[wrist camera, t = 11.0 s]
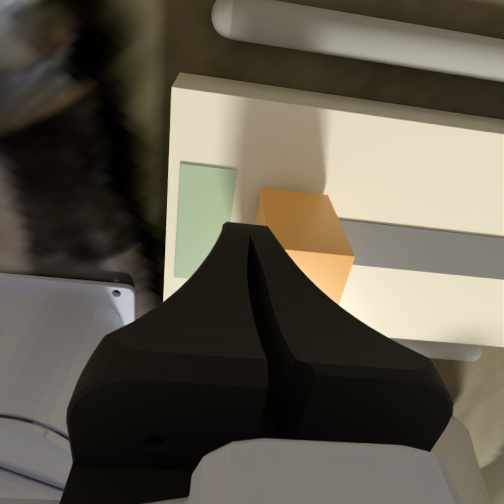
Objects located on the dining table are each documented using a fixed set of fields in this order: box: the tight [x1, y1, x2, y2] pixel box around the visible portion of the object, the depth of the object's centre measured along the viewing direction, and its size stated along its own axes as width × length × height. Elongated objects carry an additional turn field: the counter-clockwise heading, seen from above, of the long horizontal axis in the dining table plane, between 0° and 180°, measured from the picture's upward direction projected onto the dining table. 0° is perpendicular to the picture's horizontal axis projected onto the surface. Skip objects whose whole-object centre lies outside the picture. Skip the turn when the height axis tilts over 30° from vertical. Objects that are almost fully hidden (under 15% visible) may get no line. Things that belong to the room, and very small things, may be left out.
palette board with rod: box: [211, 0, 504, 361], centre depth 22 cm, size 20×19×2 cm
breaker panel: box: [163, 72, 504, 347], centre depth 21 cm, size 22×12×3 cm, turn 82°
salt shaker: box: [430, 415, 490, 504], centre depth 28 cm, size 6×6×13 cm
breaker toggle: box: [254, 187, 355, 305], centre depth 17 cm, size 3×5×5 cm, turn 171°
